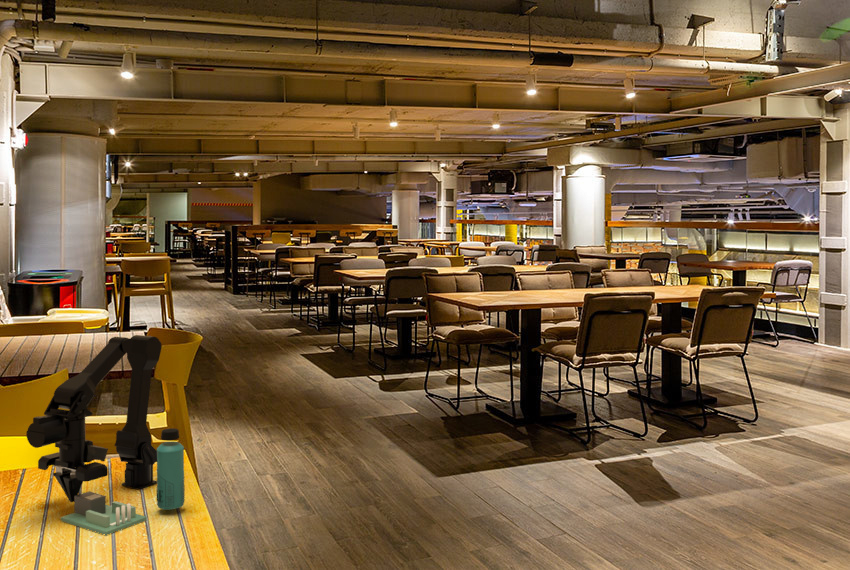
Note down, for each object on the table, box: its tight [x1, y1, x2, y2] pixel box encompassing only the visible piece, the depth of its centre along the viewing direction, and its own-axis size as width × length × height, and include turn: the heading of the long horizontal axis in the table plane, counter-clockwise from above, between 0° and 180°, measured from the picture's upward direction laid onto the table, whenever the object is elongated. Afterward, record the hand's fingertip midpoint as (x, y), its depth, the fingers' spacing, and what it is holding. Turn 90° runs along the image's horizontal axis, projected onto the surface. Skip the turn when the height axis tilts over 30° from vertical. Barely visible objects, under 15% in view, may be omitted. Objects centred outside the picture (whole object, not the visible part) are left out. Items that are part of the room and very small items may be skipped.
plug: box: [73, 490, 107, 516], centre depth 180 cm, size 6×4×4 cm, turn 58°
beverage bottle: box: [155, 428, 186, 510], centre depth 184 cm, size 6×7×20 cm
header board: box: [60, 500, 148, 536], centre depth 178 cm, size 16×11×5 cm
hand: (72, 501), depth 184 cm, fingers closed
